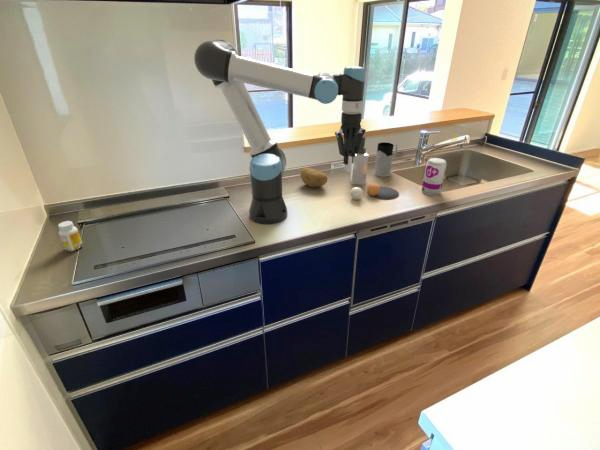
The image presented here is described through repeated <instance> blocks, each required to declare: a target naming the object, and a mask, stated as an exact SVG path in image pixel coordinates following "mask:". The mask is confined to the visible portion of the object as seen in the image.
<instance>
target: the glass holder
mask: <svg viewBox="0 0 600 450" xmlns="http://www.w3.org/2000/svg"><path fill="white" fill-rule="evenodd" d="M394 146H395V151H394ZM393 152H394V154H393ZM397 152H398V145H397V143H394V144H393V143H391V142H378V143H377V150H376V156H375V163H374V165H375V166H374V171H373V175H375V176H377V177H385V178H386V177H390V176H391V175H392V173H391V171H392V170H391V169H392V163H393V160H394V159H395V157H396V155H397Z"/></svg>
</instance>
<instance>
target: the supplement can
mask: <svg viewBox="0 0 600 450" xmlns="http://www.w3.org/2000/svg"><path fill="white" fill-rule="evenodd" d="M446 169H447V161H446V159H444V158H442V157H430V158H428V160H427V161H426V165H425V169H424V170H425V171H424V174H423V181H422V185H421V191H422V192H423V193H424V194H426V195H429V196H437V195H440V193H442V192H441V191H442V188H443V182H444V178H445V174H446Z"/></svg>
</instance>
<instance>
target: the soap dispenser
mask: <svg viewBox="0 0 600 450" xmlns="http://www.w3.org/2000/svg"><path fill="white" fill-rule="evenodd" d="M365 141H366V136H365V135H363V138H362V141H361V145H360V148H359V152H358V154H355V155H356V156H355V157H354V158H353V163H352V167H351V172H350V183H351V185H360V186H361V185H363V186H364V185H366V182H367V171H368V170H367V169H368V164H369V163H368V160H369V154H368V151H367V148H365V144H366V142H365Z"/></svg>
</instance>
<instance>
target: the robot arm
mask: <svg viewBox="0 0 600 450" xmlns="http://www.w3.org/2000/svg"><path fill="white" fill-rule="evenodd" d="M237 51H238V50H237V49H236V48H235V46H234V45H233V44H231V43H230V42H229V41H225V40H223V39H214V40H207V41H204V42H202V43H200V44H199V45H198V46H197V48H196V50H195V52H194V59H193V60H194V64H195V67H196V70H197V71H198V72H199V73H200V75H202V76H203V77H204V78H206V79H209V80H211V82H212V84H213V85H214V87H215V88H217V89H219V90H221V92H222V94H223V95H224V97H225V100H226V102H227V103H228V106H229V108H230V110H231V112H232V113H233V116H234V118H235V119H236V121H237V123H238V125H239V128H240V129H241V131H242V133H243V135H244V137H245V140H246V141H247V143H248V145H249V146H250V151H249V155H250V157H251V159H250V161H249V173H250V183H251V186H250V187H251V196H252V198H251V203H250V206H249V209H248V214H249V219H250V221H252V222H255V223H256V224H260V225H261V224H262V225H272V224H277V223H281V222H283V221H284V220H286V218H287V217H288V208H287V205H286V203H285V200H284V197H283V176H284V171H285V169H286V166H287V158H286V155H285V152H284V151H283V149H281V148H280V147H279V146H278V143H277V141H276V140H275V139H272V138H271V137H270V135H269V133H268V130H267V129H266V127H265V124H264V122H263V120H262V118H261V116H260V113H259V111H258V109H257V107H256V105H255V103H254V101H253V99H252V97H251V95H250V92H249V90H248V88H247V86H246V85H245V84H248V85H252V86H255V87H261V88H266V89H269V90H274V91H278V92H283V93H286V94H290V95H291V94H292V95H296V96H300V97H304V98H309V99H311V100H315V101H317V102H319V103H321V104H323V105H326V104H327V105H328V104H331V103H333V102H334V101H335V100H336V98H337V97H338V96H342V103H341V111H342V112H341V118H340V119H341V120H340V121H341V126H340V128H339V130H338V131H335V132H334V135H335V136H336V139H337V145H338V146H337V147H338V152H339V155H341V156H343V165H344V168H343V169H344V171H345V172H346V173H348V174H349V173H351V167H352V163H353V158H354V157H355V156H356V155H355V154H358V152H359V148H360V145H361V141H362V138H363V136H365V133H366V129H365V128H363V127H362V125H361V123H362V117H363V116H362V115H363V114H362V111H363V103H364V102H363V101H364V91H365V83H366V80H365V79H366V78H365V76H366V75H365V74H366V69H365V68H364V66H363V67H362V66H355V65H353V66H349V65H348V66H345V67H344V68H343V72H320V71H319V72H306V71H302V70H298V69H295V68H294V69H293V68H290V67H285V66H281V65H278V64H273V63H269V62H265V61H261V60H256V59H253V58H248V57H244V56H239V55H238V54H239V53H238V52H237Z"/></svg>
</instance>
